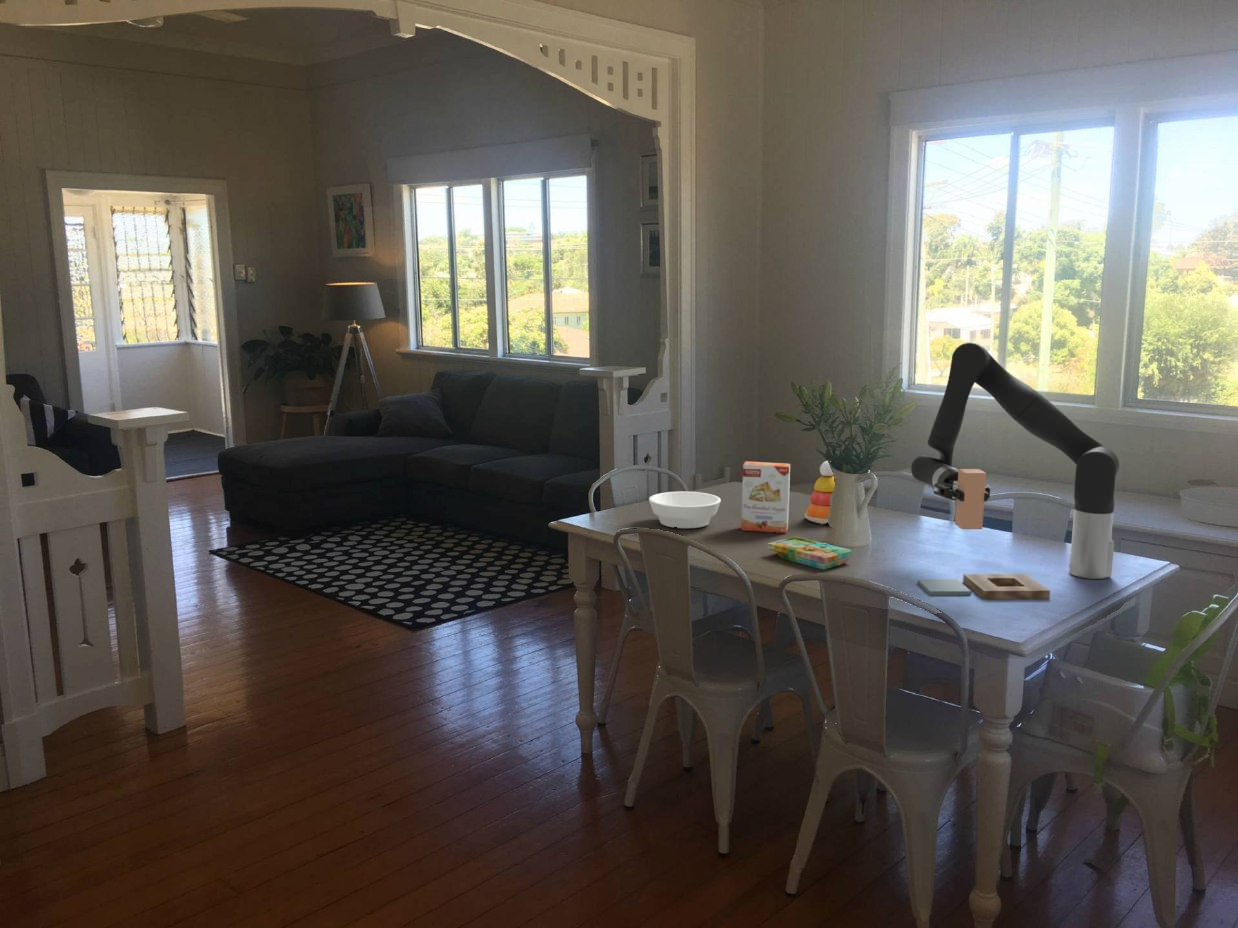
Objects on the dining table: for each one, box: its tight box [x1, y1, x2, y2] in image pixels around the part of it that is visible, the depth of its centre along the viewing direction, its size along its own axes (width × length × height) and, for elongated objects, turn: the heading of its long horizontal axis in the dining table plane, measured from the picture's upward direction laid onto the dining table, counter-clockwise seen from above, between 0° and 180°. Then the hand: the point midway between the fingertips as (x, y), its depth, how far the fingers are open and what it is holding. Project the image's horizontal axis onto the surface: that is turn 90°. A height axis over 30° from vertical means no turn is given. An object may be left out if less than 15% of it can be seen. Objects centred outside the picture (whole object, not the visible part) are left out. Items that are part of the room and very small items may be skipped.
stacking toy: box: [804, 460, 835, 525], centre depth 319 cm, size 14×14×20 cm
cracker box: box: [740, 460, 791, 534], centre depth 307 cm, size 14×6×21 cm, turn 76°
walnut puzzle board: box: [962, 573, 1051, 600], centre depth 249 cm, size 16×14×2 cm
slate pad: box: [917, 578, 972, 596], centre depth 250 cm, size 10×10×1 cm
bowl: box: [648, 491, 722, 529], centre depth 315 cm, size 22×22×8 cm
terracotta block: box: [954, 468, 987, 530], centre depth 246 cm, size 5×5×14 cm
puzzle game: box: [766, 536, 853, 570], centre depth 276 cm, size 12×5×20 cm
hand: (974, 497), depth 243 cm, fingers closed on terracotta block, 5 cm apart
